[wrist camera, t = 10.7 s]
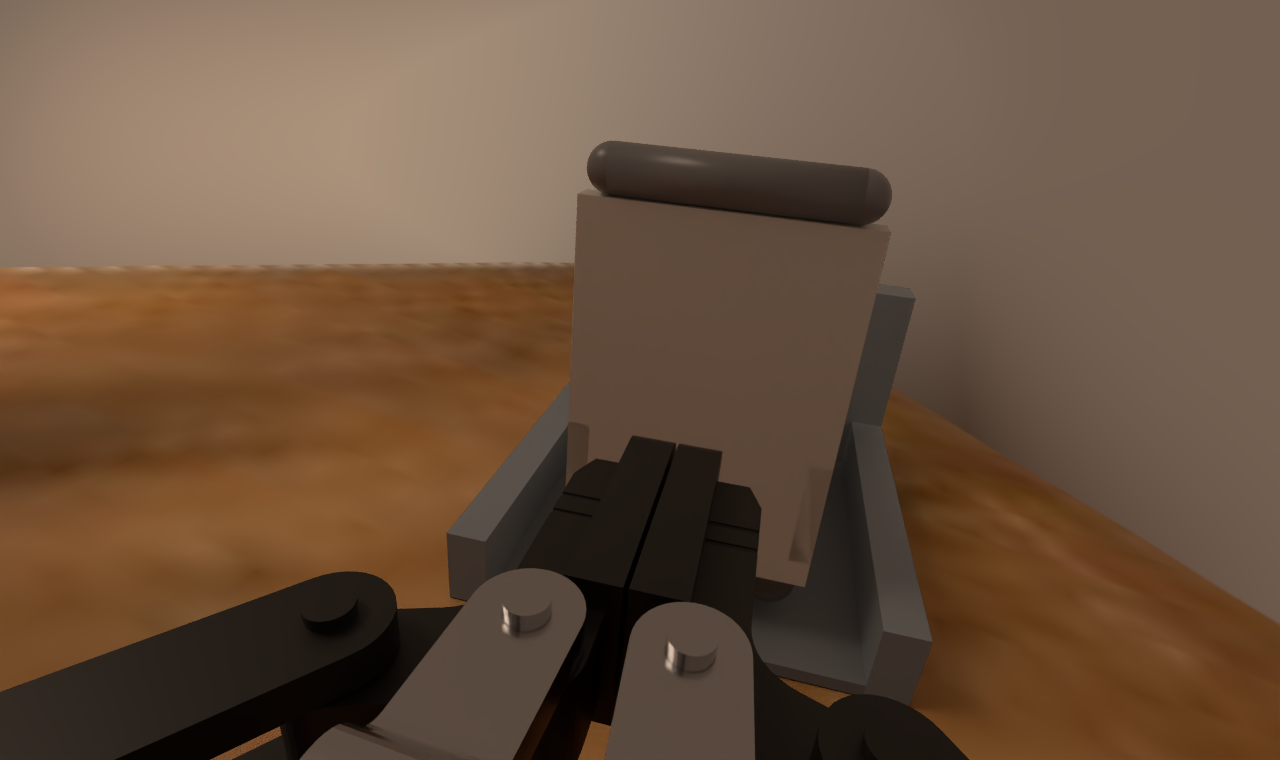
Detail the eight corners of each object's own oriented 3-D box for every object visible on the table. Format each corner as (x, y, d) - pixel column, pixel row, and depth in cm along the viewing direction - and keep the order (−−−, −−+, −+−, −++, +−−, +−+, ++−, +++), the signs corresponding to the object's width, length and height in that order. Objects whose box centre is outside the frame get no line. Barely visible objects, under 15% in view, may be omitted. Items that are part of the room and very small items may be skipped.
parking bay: (450, 596, 20) (437, 354, 16) (583, 406, 32) (591, 244, 28) (908, 707, 17) (1002, 453, 14) (864, 457, 30) (909, 288, 26)
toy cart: (559, 581, 20) (577, 139, 14) (636, 427, 29) (664, 122, 23) (794, 635, 18) (907, 174, 13) (796, 456, 27) (863, 142, 22)
